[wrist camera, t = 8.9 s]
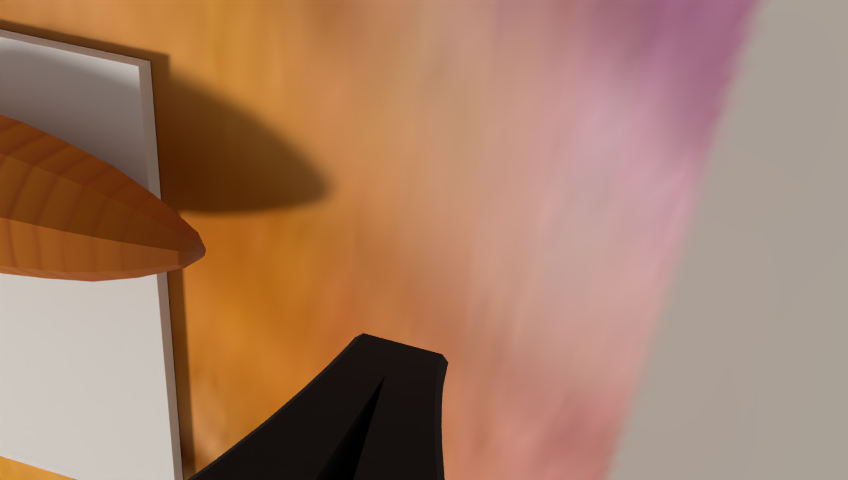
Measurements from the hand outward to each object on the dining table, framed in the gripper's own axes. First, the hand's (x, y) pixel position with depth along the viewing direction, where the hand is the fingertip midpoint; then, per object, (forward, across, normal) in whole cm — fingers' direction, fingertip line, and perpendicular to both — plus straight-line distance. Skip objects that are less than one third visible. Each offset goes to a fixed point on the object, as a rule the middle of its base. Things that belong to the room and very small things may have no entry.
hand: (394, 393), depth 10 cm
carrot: (+8, +7, +4) cm, 11 cm away
